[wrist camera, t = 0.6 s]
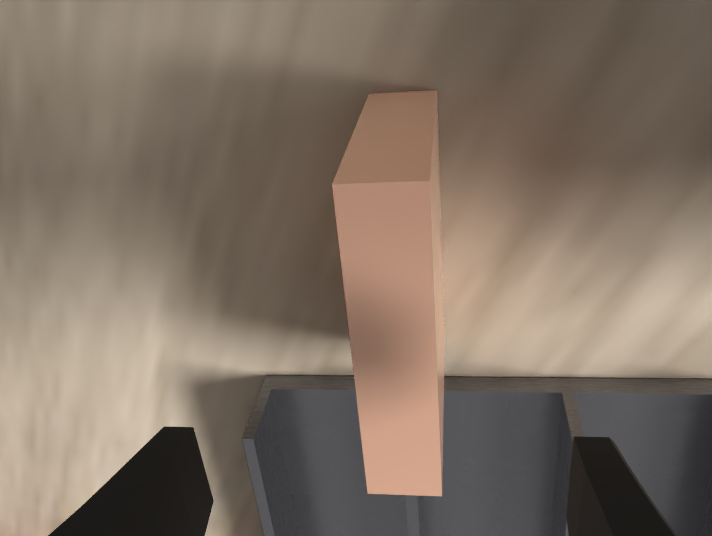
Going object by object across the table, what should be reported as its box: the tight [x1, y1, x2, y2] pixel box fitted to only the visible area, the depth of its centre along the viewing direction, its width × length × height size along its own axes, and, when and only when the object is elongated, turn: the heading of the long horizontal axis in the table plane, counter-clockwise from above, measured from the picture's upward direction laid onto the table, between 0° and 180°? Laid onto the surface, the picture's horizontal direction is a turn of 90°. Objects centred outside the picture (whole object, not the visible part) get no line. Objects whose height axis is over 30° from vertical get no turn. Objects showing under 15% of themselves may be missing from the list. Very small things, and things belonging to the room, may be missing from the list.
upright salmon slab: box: [332, 90, 445, 496], centre depth 19 cm, size 2×9×7 cm, turn 5°
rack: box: [242, 375, 712, 536], centre depth 26 cm, size 17×12×3 cm
